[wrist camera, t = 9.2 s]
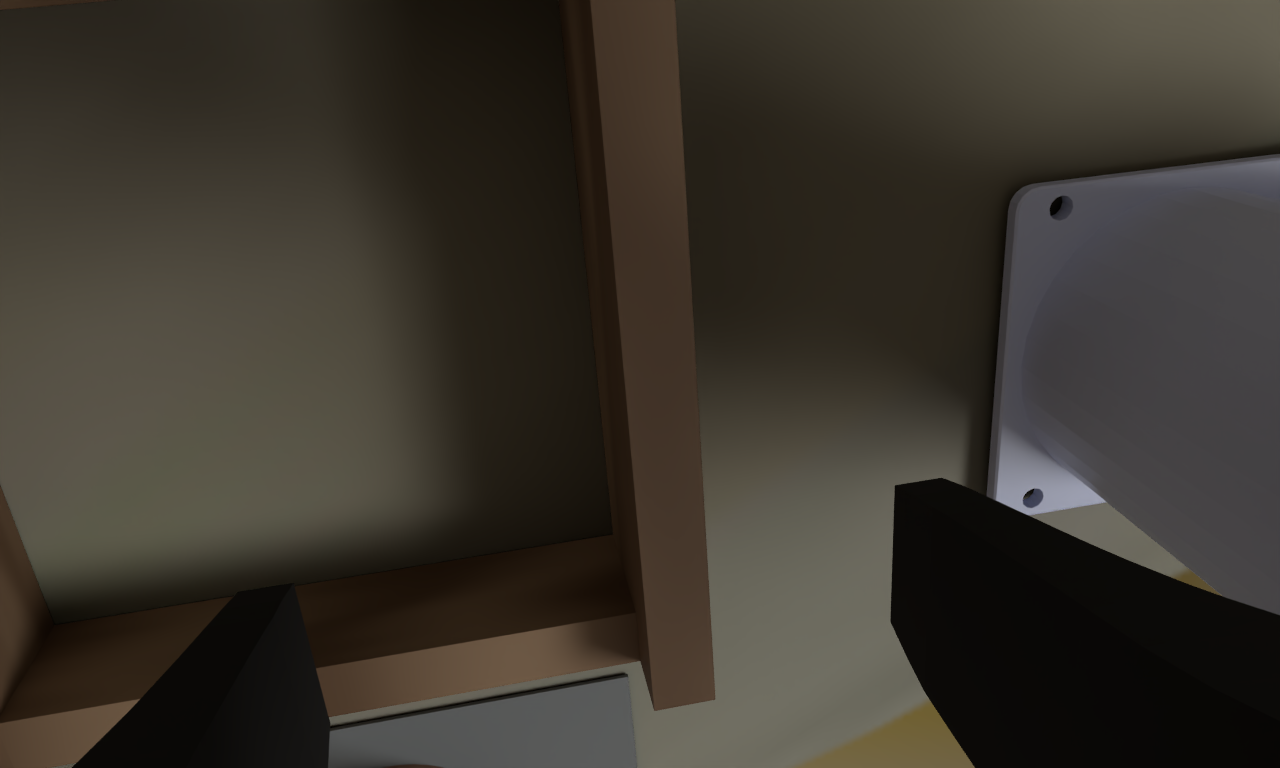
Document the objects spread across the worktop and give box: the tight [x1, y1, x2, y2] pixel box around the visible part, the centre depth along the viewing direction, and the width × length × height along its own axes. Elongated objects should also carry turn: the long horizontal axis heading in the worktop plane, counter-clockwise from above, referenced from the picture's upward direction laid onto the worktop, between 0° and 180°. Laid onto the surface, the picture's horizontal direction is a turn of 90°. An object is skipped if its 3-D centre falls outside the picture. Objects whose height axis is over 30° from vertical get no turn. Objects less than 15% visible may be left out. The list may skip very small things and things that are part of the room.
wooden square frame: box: [0, 0, 715, 768], centre depth 17 cm, size 14×14×4 cm
